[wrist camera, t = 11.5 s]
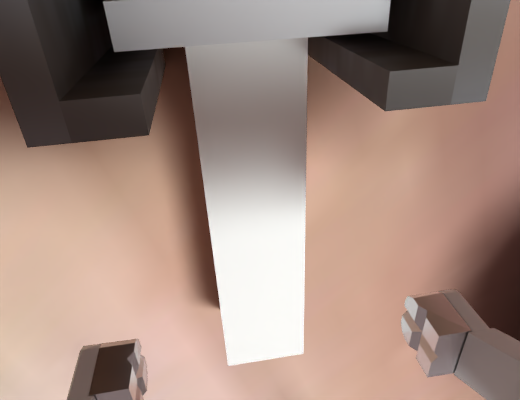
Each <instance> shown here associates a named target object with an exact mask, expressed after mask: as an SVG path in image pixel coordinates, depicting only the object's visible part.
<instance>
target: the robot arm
mask: <svg viewBox="0 0 520 400" xmlns="http://www.w3.org/2000/svg"><path fill="white" fill-rule="evenodd" d="M405 307H406V309H407V311H406V312H405V313H404V314H403V315H402V320H401V326H402V332H403V335H404V338H405V340H406V342H407V343H408V345H409V346H410V347H412V348H413V349H415V350H416V351H417V356H416V359H417V361H418V362H419V364H420V366H421V367H422V369H423V371H424V373H425V374H426V376H427V377H432V376H439V375H445V374H452V373H454V375H455V376H457V377H458V378H459V379H460V380H462V381H463V382H464V383H466V384H467V385H468V386H470V387H471V388H472V389H473V390H475V391H476V392H477V393H479V394H480V395H481V396H483V397H484V398H485V399H487V400H520V341H518V340H516V339H515V338H513V337H511V336H509V335H507V334H505V333H503V332H501V331H499V330H497V329H495V328H489V327H488V326H487V325H486V323H485V322H484V321H483V320H482V319H481V317H480V316H479V315H478V314H477V313H476V311H475V310H474V309H473V308H472V307H471V306H470V304H469V303H468V302H467V301H466V300H465V298H464V297H463V296H462V295H461V294H460V292H459V291H457V290H456V289H450V290H444V291H438V292H437V291H436V292H430V293H424V294H418V295H412V296H408V297H407V298H406V300H405ZM140 354H141V345H140V342H139V339H132V340H125V341H117V342H109V343H102V344H96V345H88V346H83V348H82V349H81V351H80V353H79V357H78V360H77V364H76V367H75V371H74V375H73V378H72V382H71V386H70V389H69V393H68V397H67V400H144V399H143V395H144V393H145V392H146V391H147V366H146V361H145V357H144V356H142V355H140Z"/></svg>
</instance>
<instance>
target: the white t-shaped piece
mask: <svg viewBox="0 0 520 400" xmlns="http://www.w3.org/2000/svg"><path fill="white" fill-rule="evenodd" d="M390 3H391V0H106V1H103V4H104V9H105V13H106V18H107V22H108V27H109V31H110V36H111V40H112V45H113V49H114V52H121V51H134V50H148V49H161V48H174V47H185V51H186V58H187V66H188V73H189V80H190V88H191V95H192V103H193V110H194V117H195V125H196V132H197V139H198V147H199V154H200V162H201V169H202V176H203V184H204V191H205V198H206V206H207V213H208V221H209V228H210V235H211V243H212V250H213V258H214V265H215V272H216V280H217V287H218V294H219V302H220V309H221V317H222V324H223V331H224V339H225V346H226V354H227V361H228V366H231V365H237V364H243V363H249V362H255V361H261V360H268V359H274V358H280V357H286V356H292V355H298V354H303V350H304V279H305V209H306V138H307V67H308V37H320V36H333V35H347V34H360V33H373V32H386V31H387V30H388V21H389V12H390Z"/></svg>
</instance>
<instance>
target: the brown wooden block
mask: <svg viewBox="0 0 520 400" xmlns="http://www.w3.org/2000/svg"><path fill="white" fill-rule="evenodd" d="M103 1H106V0H0V76H1V78H2V81H3V84H4V86H5V89H6V92H7V94H8V97H9V100H10V102H11V105H12V108H13V110H14V113H15V115H16V118H17V121H18V123H19V126H20V129H21V131H22V134H23V137H24V139H25V142H26V145H27V147H37V146H47V145H57V144H67V143H77V142H87V141H97V140H106V139H116V138H126V137H136V136H146V135H149V133H150V129H151V124H152V120H153V116H154V112H155V107H156V103H157V99H158V95H159V91H160V86H161V82H162V78H163V74H164V70H165V60H164V54H163V48H161V49H148V50H134V51H121V52H114V49H113V45H112V40H111V36H110V31H109V27H108V22H107V18H106V13H105V9H104V4H103ZM509 4H510V0H391V3H390V12H389V21H388V30H387V31H386V32H373V33H360V34H347V35H333V36H320V37H308V55H309V56H311V57H312V58H313V59H315V60H316V61H318V62H319V63H320V64H322V65H323V66H324V67H326V68H327V69H328V70H330V71H331V72H333V73H334V74H335V75H337V76H338V77H339V78H341V79H342V80H343V81H345V82H346V83H348V84H349V85H350V86H352V87H353V88H354V89H356V90H357V91H358V92H360V93H361V94H363V95H364V96H365V97H367V98H368V99H369V100H371V101H372V102H373V103H375V104H376V105H378V106H379V107H380V108H382V109H383V110H384V111H392V110H402V109H412V108H422V107H432V106H442V105H452V104H461V103H471V102H481V101H486V98H487V94H488V90H489V86H490V82H491V78H492V74H493V70H494V66H495V62H496V57H497V53H498V49H499V45H500V41H501V37H502V33H503V29H504V25H505V21H506V17H507V13H508V8H509Z"/></svg>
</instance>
